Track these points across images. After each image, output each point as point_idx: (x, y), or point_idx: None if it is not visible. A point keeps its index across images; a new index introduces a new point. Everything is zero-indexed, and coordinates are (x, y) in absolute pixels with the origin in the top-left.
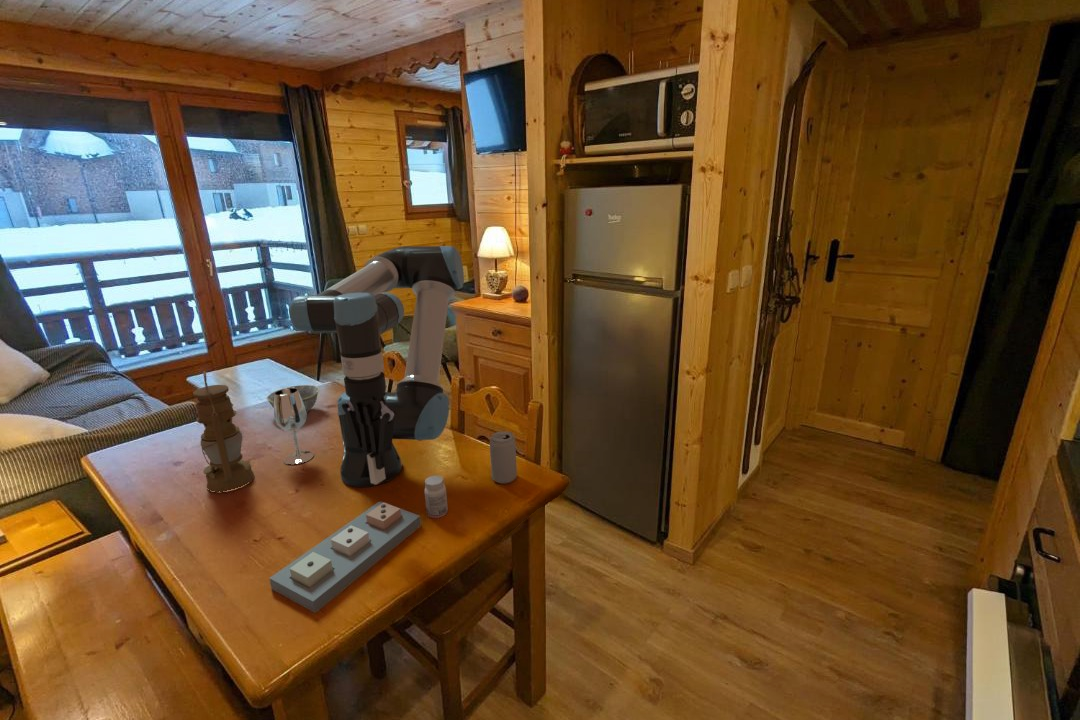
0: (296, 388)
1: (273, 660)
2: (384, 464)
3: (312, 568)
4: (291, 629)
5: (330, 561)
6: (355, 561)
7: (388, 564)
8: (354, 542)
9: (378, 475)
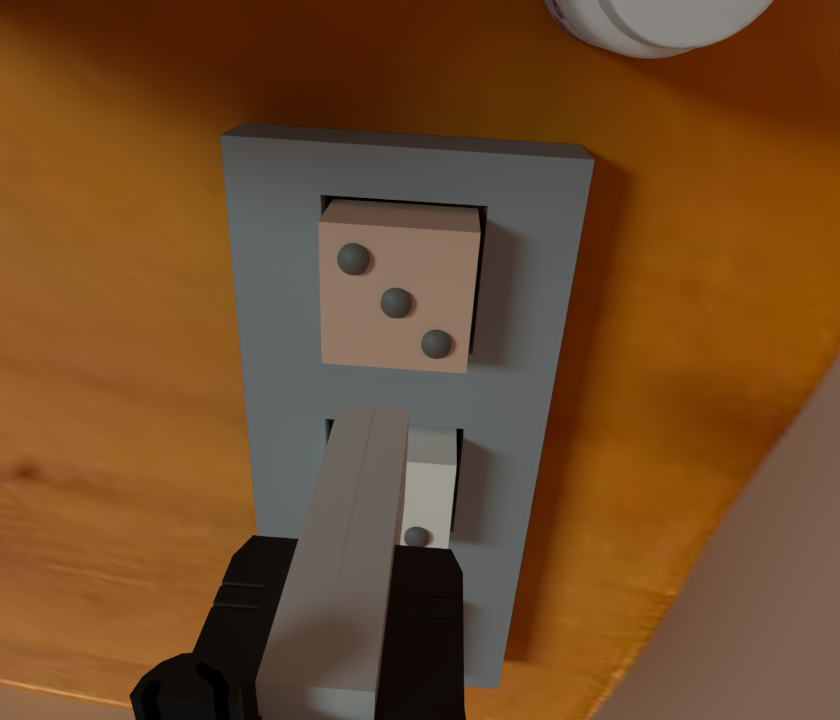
0: None
1: None
2: (462, 591)
3: None
4: (476, 691)
5: None
6: (495, 540)
7: (588, 433)
8: (447, 533)
9: (400, 524)
